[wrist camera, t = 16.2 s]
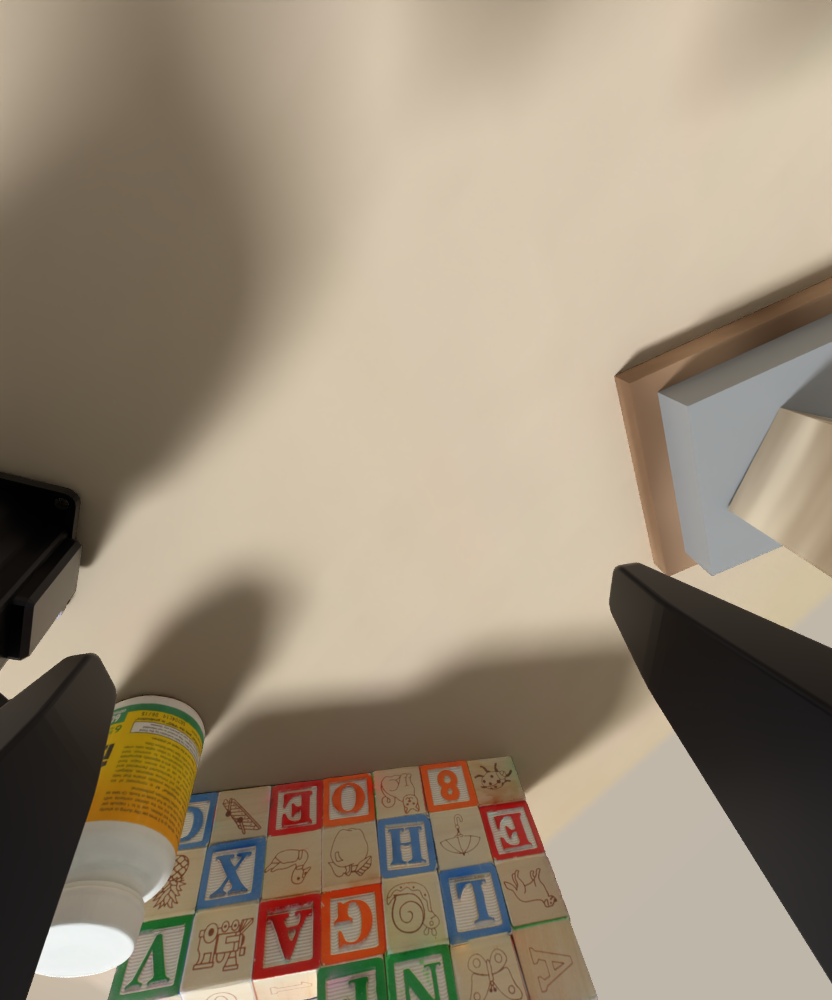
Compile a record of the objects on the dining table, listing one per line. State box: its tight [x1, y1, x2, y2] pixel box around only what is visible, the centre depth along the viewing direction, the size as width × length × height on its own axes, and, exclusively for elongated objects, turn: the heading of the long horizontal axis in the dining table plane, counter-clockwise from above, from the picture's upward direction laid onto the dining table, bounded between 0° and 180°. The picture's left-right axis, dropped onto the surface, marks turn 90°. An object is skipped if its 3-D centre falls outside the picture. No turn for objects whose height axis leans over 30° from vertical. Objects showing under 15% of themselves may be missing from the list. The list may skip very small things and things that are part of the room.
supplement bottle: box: [35, 696, 205, 978], centre depth 22 cm, size 5×5×10 cm
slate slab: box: [658, 313, 832, 576], centre depth 22 cm, size 9×9×2 cm
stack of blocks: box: [108, 756, 598, 1000], centre depth 27 cm, size 21×6×12 cm, turn 88°
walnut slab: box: [614, 277, 832, 576], centre depth 24 cm, size 11×11×2 cm
